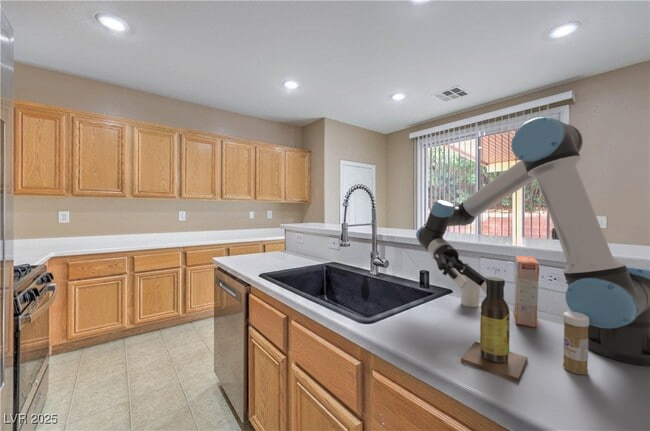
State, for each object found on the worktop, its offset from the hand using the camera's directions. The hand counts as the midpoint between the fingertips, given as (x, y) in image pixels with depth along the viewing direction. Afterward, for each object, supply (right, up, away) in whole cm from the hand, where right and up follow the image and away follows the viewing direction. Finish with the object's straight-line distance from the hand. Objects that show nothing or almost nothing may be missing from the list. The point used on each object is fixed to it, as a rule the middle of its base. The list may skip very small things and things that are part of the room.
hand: (481, 291), depth 83 cm
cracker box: (+23, -14, +15) cm, 31 cm away
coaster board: (-3, -14, -11) cm, 19 cm away
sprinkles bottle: (+14, -15, -15) cm, 25 cm away
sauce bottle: (-3, -14, -11) cm, 18 cm away
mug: (+13, -13, +30) cm, 35 cm away
